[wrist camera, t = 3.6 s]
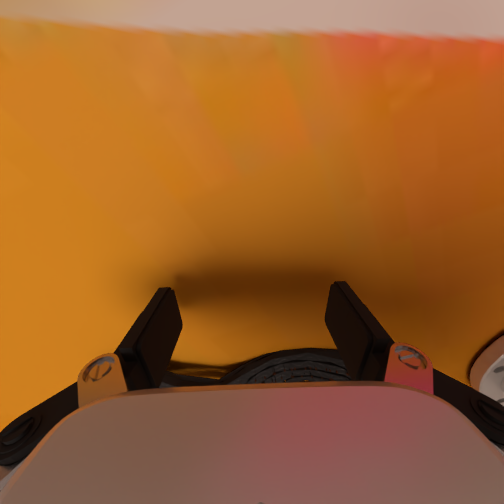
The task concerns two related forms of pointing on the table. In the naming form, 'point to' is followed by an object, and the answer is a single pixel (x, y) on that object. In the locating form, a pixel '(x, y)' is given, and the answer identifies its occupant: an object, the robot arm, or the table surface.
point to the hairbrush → (274, 370)
